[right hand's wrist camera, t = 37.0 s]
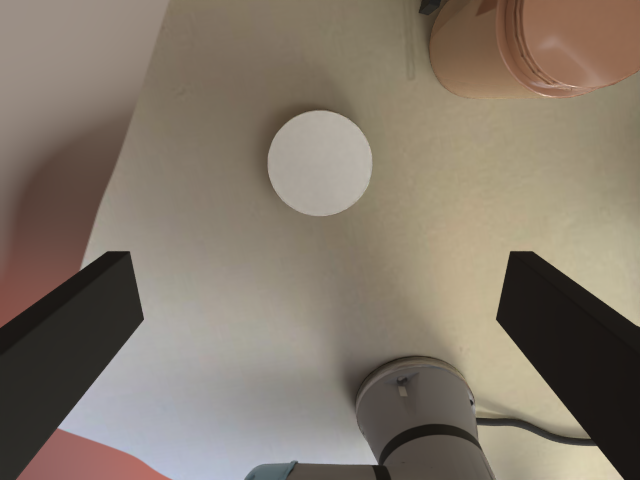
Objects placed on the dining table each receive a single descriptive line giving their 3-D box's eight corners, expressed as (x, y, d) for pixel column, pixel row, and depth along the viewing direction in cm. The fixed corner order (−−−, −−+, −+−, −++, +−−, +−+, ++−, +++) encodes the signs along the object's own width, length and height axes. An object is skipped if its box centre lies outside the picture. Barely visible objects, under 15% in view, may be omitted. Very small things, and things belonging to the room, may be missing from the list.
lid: (386, 131, 36) (390, 133, 34) (348, 223, 39) (349, 230, 37) (288, 93, 34) (286, 92, 32) (257, 192, 38) (254, 197, 36)
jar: (408, 63, 33) (475, 37, 19) (473, -45, 30) (610, -173, 16) (488, 117, 35) (604, 130, 21) (557, 20, 32) (748, -44, 18)
